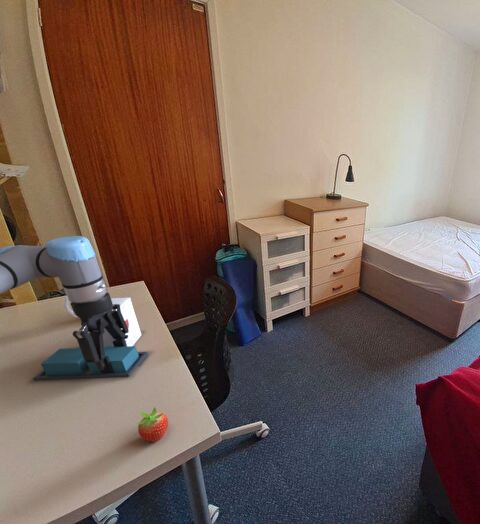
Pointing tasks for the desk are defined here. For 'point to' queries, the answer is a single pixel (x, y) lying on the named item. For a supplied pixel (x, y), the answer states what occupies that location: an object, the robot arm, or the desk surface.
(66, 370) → the seated pad
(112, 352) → the loose blue pad
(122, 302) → the rectangular carton
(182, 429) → the desk surface
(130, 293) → the desk surface
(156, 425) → the fruit
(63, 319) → the desk surface
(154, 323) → the desk surface
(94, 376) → the backing tray
